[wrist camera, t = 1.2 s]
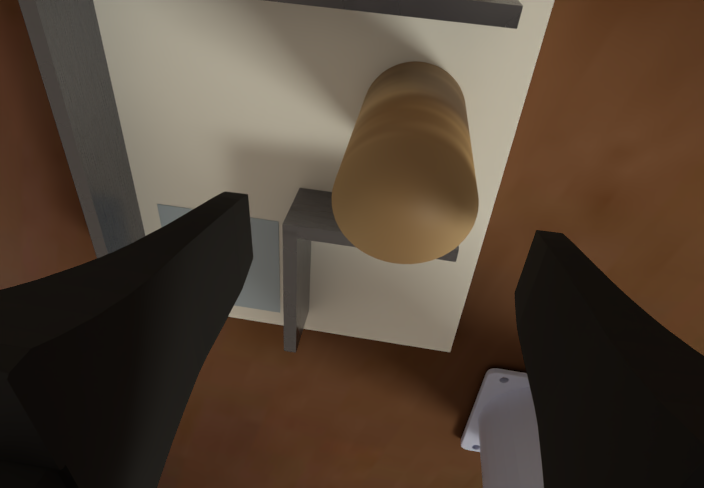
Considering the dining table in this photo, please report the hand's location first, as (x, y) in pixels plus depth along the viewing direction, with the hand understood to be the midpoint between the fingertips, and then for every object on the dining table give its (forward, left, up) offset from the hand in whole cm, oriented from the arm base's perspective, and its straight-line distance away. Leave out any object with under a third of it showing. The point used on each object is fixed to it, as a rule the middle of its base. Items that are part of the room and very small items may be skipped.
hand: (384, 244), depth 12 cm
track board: (+5, +3, -9) cm, 11 cm away
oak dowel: (0, 0, -8) cm, 8 cm away
